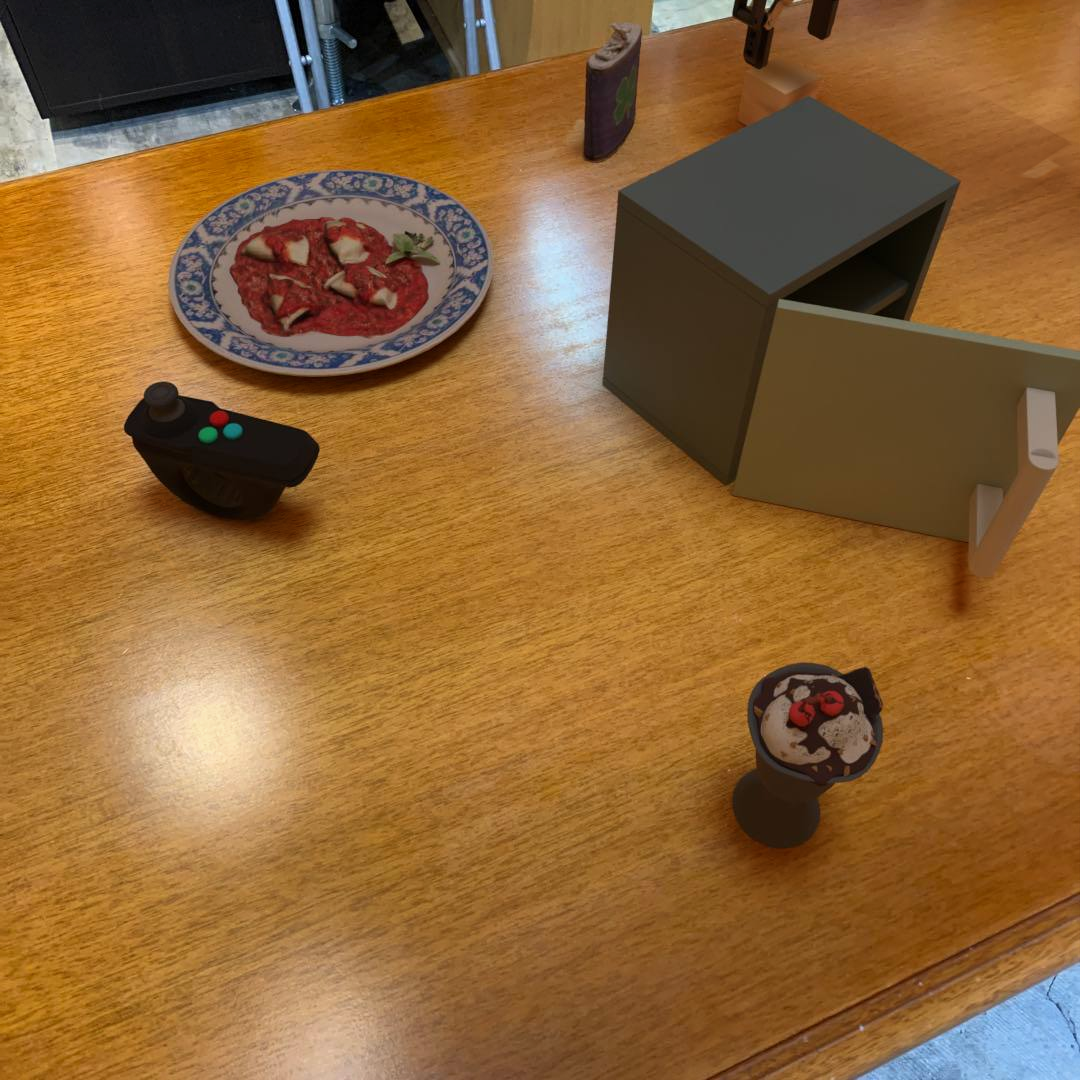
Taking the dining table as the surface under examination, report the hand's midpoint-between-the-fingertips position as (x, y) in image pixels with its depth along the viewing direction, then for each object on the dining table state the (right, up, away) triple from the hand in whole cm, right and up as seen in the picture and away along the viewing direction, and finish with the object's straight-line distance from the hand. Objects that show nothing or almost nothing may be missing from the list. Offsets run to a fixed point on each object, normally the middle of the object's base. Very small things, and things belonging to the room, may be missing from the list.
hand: (787, 50), depth 98 cm
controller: (-43, -43, -24) cm, 65 cm away
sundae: (-9, -60, -37) cm, 71 cm away
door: (-1, -45, -26) cm, 53 cm away
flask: (-16, -7, +4) cm, 18 cm away
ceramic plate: (-39, -24, -10) cm, 47 cm away
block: (0, -4, +6) cm, 7 cm away
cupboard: (-7, -32, -16) cm, 37 cm away
